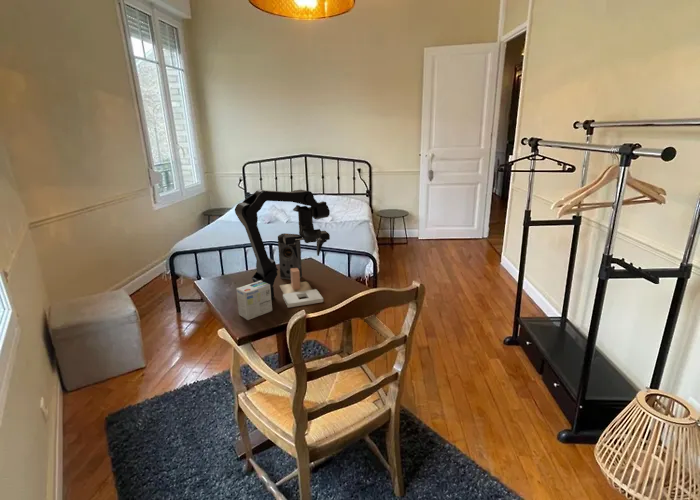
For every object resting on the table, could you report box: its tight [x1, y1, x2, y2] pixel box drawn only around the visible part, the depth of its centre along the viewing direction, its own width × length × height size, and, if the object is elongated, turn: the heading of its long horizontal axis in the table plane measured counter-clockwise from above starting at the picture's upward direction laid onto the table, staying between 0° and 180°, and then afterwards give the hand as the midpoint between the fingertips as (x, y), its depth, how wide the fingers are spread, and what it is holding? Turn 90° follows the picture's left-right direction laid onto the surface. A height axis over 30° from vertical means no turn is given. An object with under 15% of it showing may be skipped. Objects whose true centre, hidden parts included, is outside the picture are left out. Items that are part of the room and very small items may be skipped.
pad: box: [279, 281, 314, 295], centre depth 163 cm, size 12×10×1 cm
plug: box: [290, 268, 301, 290], centre depth 162 cm, size 3×4×8 cm
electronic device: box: [277, 233, 303, 281], centre depth 173 cm, size 9×6×20 cm, turn 73°
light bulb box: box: [235, 280, 273, 321], centre depth 140 cm, size 11×7×11 cm, turn 136°
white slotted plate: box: [282, 288, 324, 308], centre depth 152 cm, size 14×10×2 cm
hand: (307, 256), depth 162 cm, fingers open, 9 cm apart
